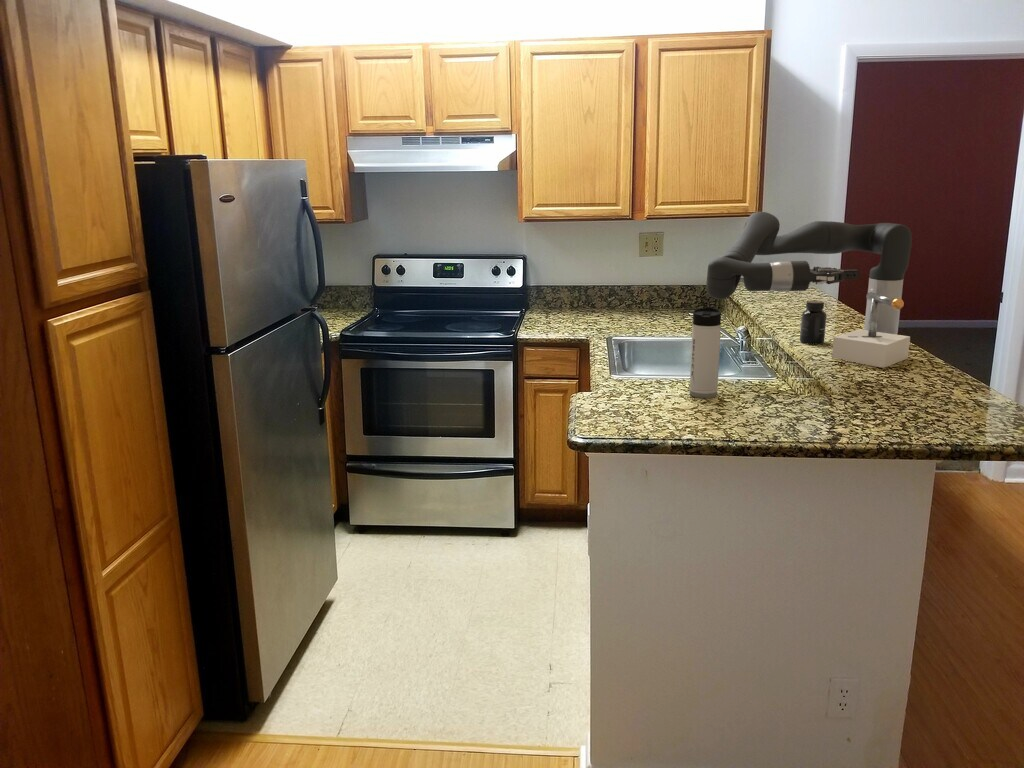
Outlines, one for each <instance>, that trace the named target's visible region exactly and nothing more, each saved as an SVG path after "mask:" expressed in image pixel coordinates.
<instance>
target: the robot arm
mask: <svg viewBox="0 0 1024 768" xmlns="http://www.w3.org/2000/svg"><path fill="white" fill-rule="evenodd" d="M780 225H781V224H780V221H779V219H778V218H777V217H776V216H775V215H774V214H772V213H770V212H766V211H756V212H753V213H751V214H750V215H749V216H748V217H747V219H746V222H745V224H744V226H743V229H742V231H741V233H740V234H739V236H738V237H737V238H736V240H735V241H734V242H733V243H732V244H731V246H729V248H727V250H726V251H725V252H724V254H722V256H717V257H715V258H713V259H711V260H710V261H709V262H708V265H707V271H706V273H707V274H706V285H705V288H706V293H707V294H708V296H710V297H711V298H712V299H715V300H726V299H728V298H729V297H731V296H732V295H733V294H734V293H735V291H736V290H737V288H738V285H739V283H740V281H741V278H742V277H743V278H742V279H743V284H744V287H745V289H746V290H747V291H749V292H803V291H804V292H805V291H807V290H808V289H809V286H810V284H811V282H812V283H814V285H824V284H826V285H831V284H836V283H837V284H838V283H842V282H844V280H846V281H847V280H858V279H859V278H860V270H858V269H842V268H841V269H840V268H836V267H827V266H826V267H820V266H813V267H812V269H811V266H810V264H809V262H808V261H806V260H783V261H774V262H773V261H772V262H755V263H754V262H753V261H754V258H755V257H756V256H772V255H785V254H814V255H816V254H817V255H819V254H820V255H834V254H841V253H845V252H849V251H858V252H859V251H860V252H868V253H873V254H877V255H881V256H880V262H879V263H878V265H876V266H874V267H871V268H870V270H869V276H868V277H869V278H868V288H867V293H869V292H872V293H876V294H879V295H883V296H886V297H890V298H893V299H897V298H899V299H902V296H903V285H904V278H905V273H906V271H907V269H908V267H909V262H910V256H911V250H912V241H913V236H912V232H911V230H910V228H909V227H908V226H907V225H904V224H901V223H891V222H880V223H873V224H850V223H846V222H840V221H826V220H823V221H822V220H821V221H820V220H817V221H812V222H809V223H806V224H804V225H802V226H800V227H798V228H796V229H794V230H792V231H790V232H788V233H786V234H782V235H778V234H779V231H780ZM870 310H871V300H869V299H867V298H866V308H865V315H864V316H865V318H864V327H863V330H867V331H868V330H869V320H870ZM900 313H901V309H899V310H896V309H894V308H893V307H892V306H888V305H885V304H882V303H879V313H878V323H877V332H881V333H889V334H896V335H898V331H899V321H900Z"/></svg>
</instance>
